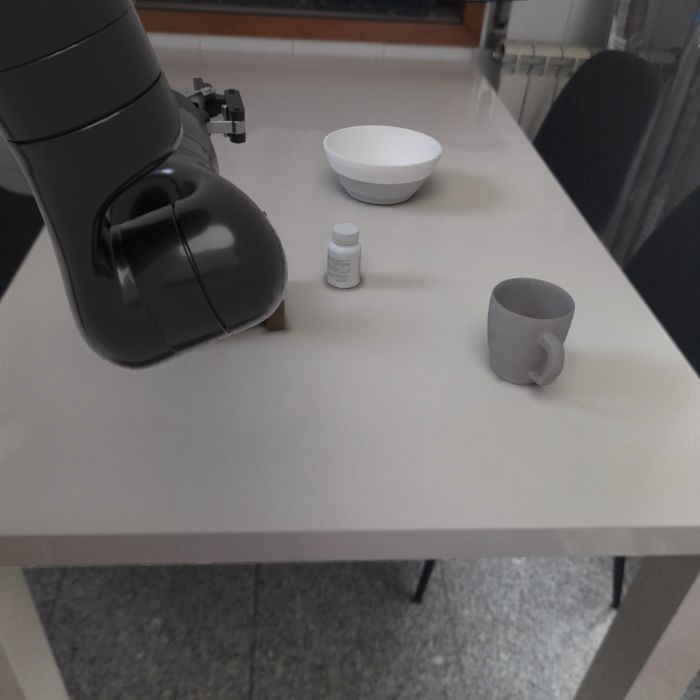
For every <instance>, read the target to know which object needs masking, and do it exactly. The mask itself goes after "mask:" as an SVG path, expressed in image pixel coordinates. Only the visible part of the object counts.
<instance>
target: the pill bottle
mask: <svg viewBox="0 0 700 700" xmlns="http://www.w3.org/2000/svg"><path fill="white" fill-rule="evenodd" d="M359 239H360V228H359V227H358V225H356V224H354V223H350V222H340V223H335V225H333V226H332V230H331V240H330V241H329V242H328V245H327V262H326V280H327V282H328V284H329V285H330V286H332V287H335V288H338V289H351V288H354V287H356V286H357V285H358V284H359V283H360V280H361V266H362V264H361V263H362V244H361V243H360V241H359Z"/></svg>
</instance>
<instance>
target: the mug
mask: <svg viewBox="0 0 700 700" xmlns="http://www.w3.org/2000/svg"><path fill="white" fill-rule="evenodd" d="M575 310H576V302H575V300H574V298H573V297H572V295H571V294H570V293H569V292H568V291H567V290H565V289H564V288H562V287H561V286H559V285H556V284H555V283H553V282H549V281H546V280H543V279H539V278H532V277H514V278H509V279H504V280H501V281H500V282H499V283H497V284H496V285H495V286H494V287H493V289H492V291H491V294H490V297H489V303H488V310H487V321H486V337H487V345H488V351H489V354H490V358H491V361H492V367H493V371H494V373H495V375H496V376H498V377H499V378H500V379H502V380H503V381H505V382H508V383H510V384H514V385H523V386H525V385H531V384H534V383H535V384H536V385H539V386H550V385H552V384H553V383H554V382H556V380H557V379H558V378H559V376H560V375H561V373H562V371H563V369H564V365H565V355H566V354H565V353H566V352H565V351H566V350H565V346H564V344H565V341H566V339H567V336H568V334H569V331H570V328H571V325H572V322H573V319H574V317H575Z"/></svg>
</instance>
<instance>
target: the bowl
mask: <svg viewBox="0 0 700 700" xmlns="http://www.w3.org/2000/svg"><path fill="white" fill-rule="evenodd" d="M322 146H323V148H324V151H325V154H326V157H327V160H328V164H329V165H330V168H331V169H332V171H333V173H334V175H335V177H337V179H338V181H339V183H340V185H341V186H342V187H343V188H344V189H345V190H346V192H347V194H348V195H349V196H350V197H352V198H353V199H355V200H357V201H359V202H364V203H368V204H373V205H394V204H399V203H403V202H405V201H407V200H409V199H410V198H411V197H412V196H413V194H414V193H416V192H418V191H419V190H420V188H421V187H422V185H423V184H424V183H425V182H426V181H427V180H428V179H429V177H430V176H431V175H432V173H433V172H434V170H435V168H436V167H437V164H438V162H439V160H440V158H441V157H442V154H443V147H442V144H441V143H440V142H439V141H438V140H437V139H435V138H434V137H432V136H430V135H428V134H427V133H423V132H420V131H417V130H414V129H409V128H406V127H405V128H404V127H399V126H391V125H380V124H379V125H378V124H377V125H375V124H373V125H372V124H371V125H369V124H368V125H365V124H364V125H355V126H348V127H343V128H340V129H337V130H333V131H332V132H330V133H329V134H327V135H326V136H325V137H324V139H323V143H322Z"/></svg>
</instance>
